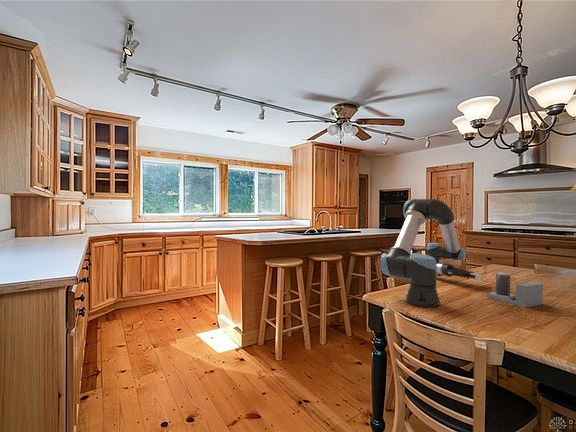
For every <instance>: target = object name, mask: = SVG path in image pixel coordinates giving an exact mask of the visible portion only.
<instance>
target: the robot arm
mask: <svg viewBox="0 0 576 432" xmlns="http://www.w3.org/2000/svg"><path fill="white" fill-rule="evenodd" d="M402 215H403V218H404V219H405V220H404V222H403V224H402V227H401V230H400V232H399V234H398V236H397V239H396V241H395V242H394V245H393V246H391V247H390V248H389V250H388V252H383V253H382V254H381V257H380V269H381V272H382V274H383V275H385V276H389V277H391V278H392V277H396V278H400V279H406V280H409V287H408V290H407V293H406V295H405V302H406V303H408V304H409V305H412V306H415V307H420V308H439V307H440V305H441V299H440V297H439V295H438V293H439V292H438V290H437V274H438V275H440V276H445V277H448V278H449V277H450V278H451V277H453V276H455V277H461V278H465V279H467V280H469V279H473V280H478V281H483V279H484V275H482V274H478V273H474V271H470V270H466V269H464V268H462V269H461V268H457V267H455V266H454V265H453V264H449V263H445V262H440V259H444V260H446V259H447V260H453V261H465V259H466V255H467V251H466V249H465V248H462V247H461V246H460V242H459V238H458V234H457V230H456V226H455V223H454V221H455V219H456V218H455V215H454V212H453V210H452V208H451V207H450V206H449V205H448V204H447V203H445V202H444V201H443V200H440V199H437V198H412V199H408V200H407V201H405V203H404V205H403V208H402ZM426 220H435V222H436V223H437V224H438V225H439V228H440V232H441V236H442V239H443V242H444V245H445V246H441V244H440V243H438V242H427V248H426V254H424V253H423V254H422V253H417V252H413V253H411V251H412V248H413V246H414V243H415V241H416V238H417V236H418V233H419V229H420V228H421V225H424V223H425V222H426Z"/></svg>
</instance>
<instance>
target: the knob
mask: <svg viewBox="0 0 576 432" xmlns="http://www.w3.org/2000/svg"><path fill="white" fill-rule="evenodd" d="M489 293H490V294H493V295H497V296H500V297H504V298H508V299H511V300H513V299H516V294H515V295H512V294H513V293H511V275H510V274H509V273H507V272H498V273H496V274H495V291H494V292H493V291H491V292H489ZM510 293H511V294H510Z"/></svg>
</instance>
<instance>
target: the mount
mask: <svg viewBox="0 0 576 432" xmlns="http://www.w3.org/2000/svg"><path fill="white" fill-rule="evenodd" d="M490 293H491V292H489V293H487V294H486V297H488V298H492V299H494V300H497V301H501V302H505V303H508V304H512V305H515V306H518V307H522V308H530V307H535V306H541V305H543V302H544V301H543V299H544V298H543V297H544V283H540V282H535V281H530V282H522V283H516V284H515V293H511V292H510V294H512V295H516V298H515V300H514V299H508V298H504V297H500V296H497V295H493V294H490Z"/></svg>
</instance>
